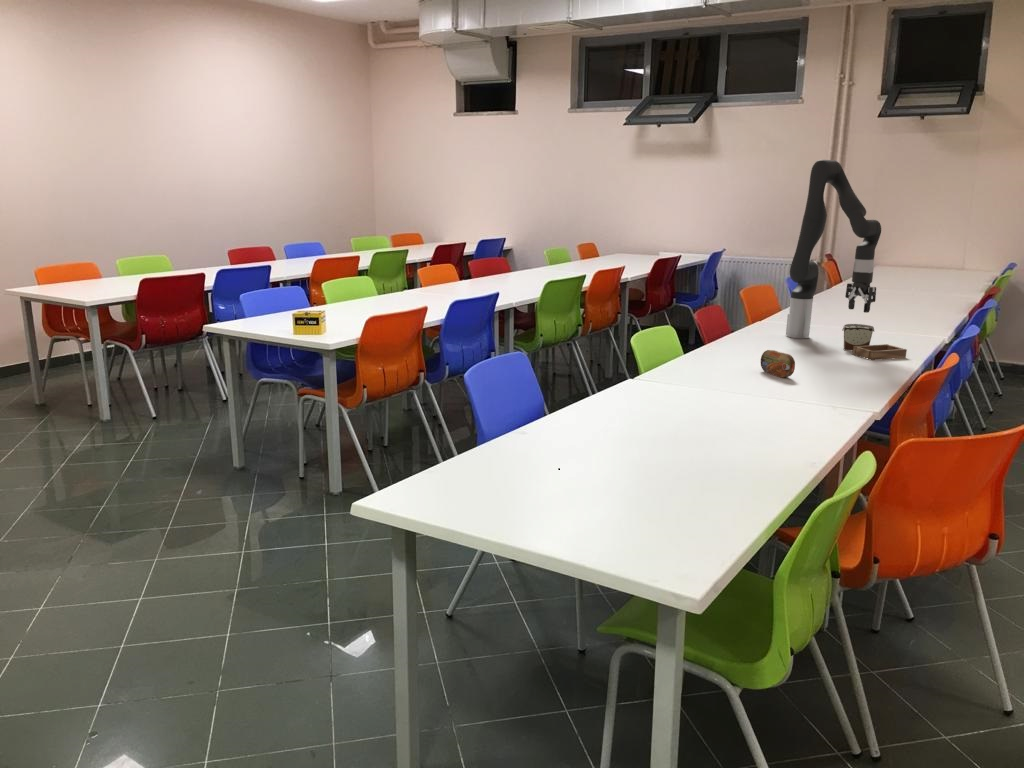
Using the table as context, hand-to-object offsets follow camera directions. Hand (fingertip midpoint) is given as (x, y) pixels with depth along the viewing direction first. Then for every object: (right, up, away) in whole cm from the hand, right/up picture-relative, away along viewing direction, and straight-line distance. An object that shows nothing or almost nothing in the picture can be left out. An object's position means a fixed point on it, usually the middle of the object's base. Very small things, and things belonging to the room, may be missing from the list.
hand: (858, 310), depth 321 cm
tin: (-46, -27, -40) cm, 67 cm away
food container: (0, -15, +4) cm, 16 cm away
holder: (+4, -19, -9) cm, 21 cm away
